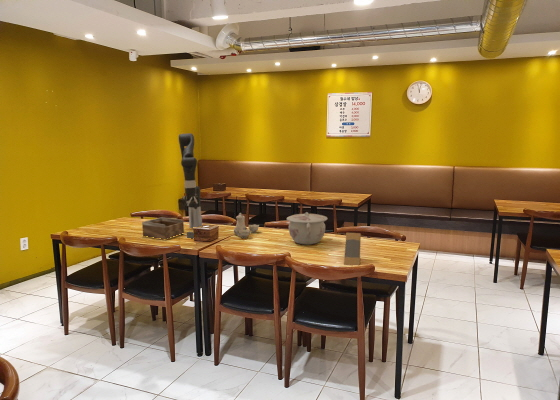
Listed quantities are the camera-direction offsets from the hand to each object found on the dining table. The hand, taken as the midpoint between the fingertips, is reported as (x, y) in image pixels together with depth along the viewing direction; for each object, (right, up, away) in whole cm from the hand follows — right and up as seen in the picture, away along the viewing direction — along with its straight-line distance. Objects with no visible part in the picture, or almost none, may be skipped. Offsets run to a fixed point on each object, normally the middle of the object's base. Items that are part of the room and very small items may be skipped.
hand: (191, 210), depth 284 cm
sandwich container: (+102, -28, -51) cm, 118 cm away
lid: (0, -22, +3) cm, 22 cm away
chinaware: (+35, -19, +16) cm, 43 cm away
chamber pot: (+79, -22, -8) cm, 83 cm away
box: (-24, -19, +17) cm, 35 cm away
